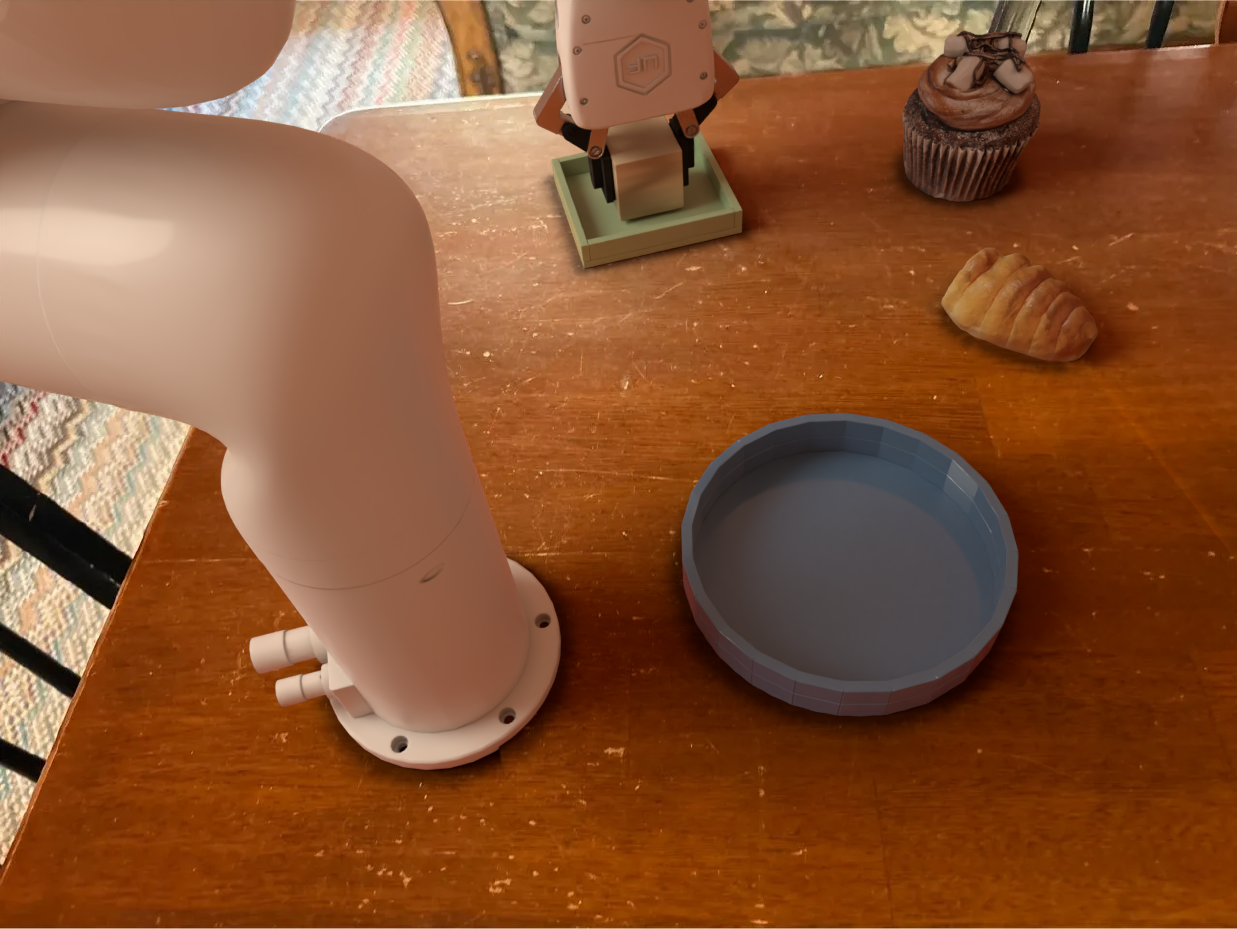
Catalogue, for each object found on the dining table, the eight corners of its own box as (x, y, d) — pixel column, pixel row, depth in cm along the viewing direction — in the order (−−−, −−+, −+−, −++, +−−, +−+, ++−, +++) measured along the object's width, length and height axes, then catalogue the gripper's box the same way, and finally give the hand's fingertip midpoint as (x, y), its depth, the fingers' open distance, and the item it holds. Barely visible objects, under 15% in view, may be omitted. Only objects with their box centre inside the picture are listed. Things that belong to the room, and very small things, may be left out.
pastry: (1110, 330, 61) (1130, 286, 58) (1055, 389, 59) (1073, 347, 56) (983, 268, 66) (995, 225, 63) (926, 321, 63) (936, 278, 60)
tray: (583, 268, 69) (580, 246, 68) (554, 181, 76) (550, 159, 74) (742, 232, 70) (742, 209, 68) (699, 149, 77) (698, 126, 75)
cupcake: (881, 139, 76) (901, 17, 68) (1003, 128, 75) (1037, 4, 67) (906, 213, 70) (931, 90, 62) (1039, 203, 69) (1080, 77, 61)
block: (620, 221, 71) (614, 165, 67) (605, 183, 74) (599, 126, 70) (684, 207, 71) (682, 150, 67) (666, 169, 74) (663, 112, 70)
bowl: (739, 759, 46) (740, 733, 43) (649, 489, 57) (646, 453, 54) (1063, 670, 47) (1085, 639, 45) (918, 422, 58) (928, 384, 55)
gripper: (497, -11, 54) (543, 239, 69) (778, -68, 56) (766, 188, 70) (478, -65, 59) (525, 179, 73) (738, -117, 60) (734, 133, 74)
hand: (643, 181), depth 71 cm, fingers closed on block, 5 cm apart
